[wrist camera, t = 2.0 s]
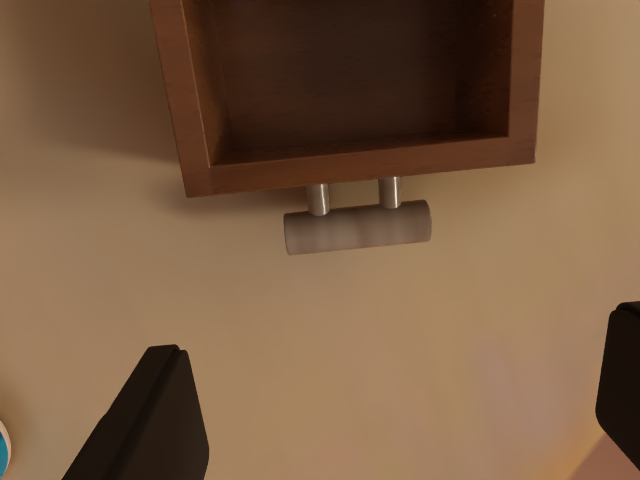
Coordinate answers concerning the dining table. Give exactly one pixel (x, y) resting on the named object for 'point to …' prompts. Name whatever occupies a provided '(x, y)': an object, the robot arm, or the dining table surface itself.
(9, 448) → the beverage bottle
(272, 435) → the dining table surface
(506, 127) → the brown open box
